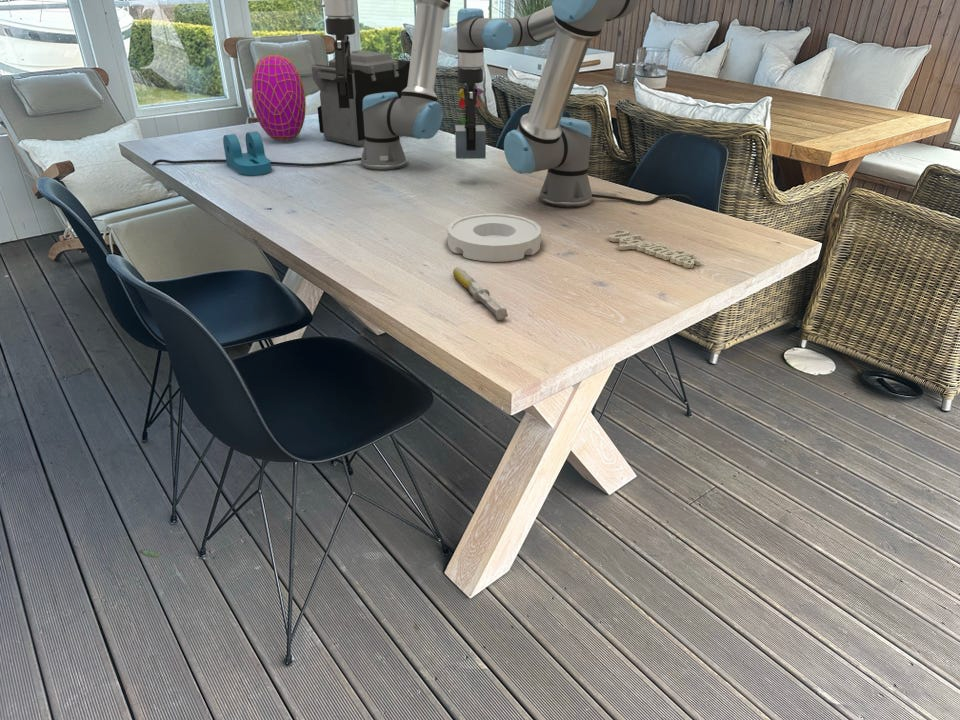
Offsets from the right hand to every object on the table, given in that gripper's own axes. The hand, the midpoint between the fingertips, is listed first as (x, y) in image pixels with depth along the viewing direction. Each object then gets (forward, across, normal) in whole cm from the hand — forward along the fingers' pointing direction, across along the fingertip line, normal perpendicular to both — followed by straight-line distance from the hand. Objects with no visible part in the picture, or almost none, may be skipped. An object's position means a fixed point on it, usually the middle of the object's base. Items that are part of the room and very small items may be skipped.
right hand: (470, 146), depth 212 cm
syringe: (+12, +84, -2) cm, 85 cm away
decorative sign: (+12, +59, +42) cm, 74 cm away
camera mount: (+11, -18, -73) cm, 76 cm away
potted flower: (+11, -38, +1) cm, 40 cm away
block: (+3, 0, 0) cm, 3 cm away
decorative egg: (+11, -59, -70) cm, 92 cm away
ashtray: (+12, +54, +4) cm, 55 cm away
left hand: (-15, +15, -35) cm, 41 cm away
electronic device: (+11, -66, -38) cm, 77 cm away
